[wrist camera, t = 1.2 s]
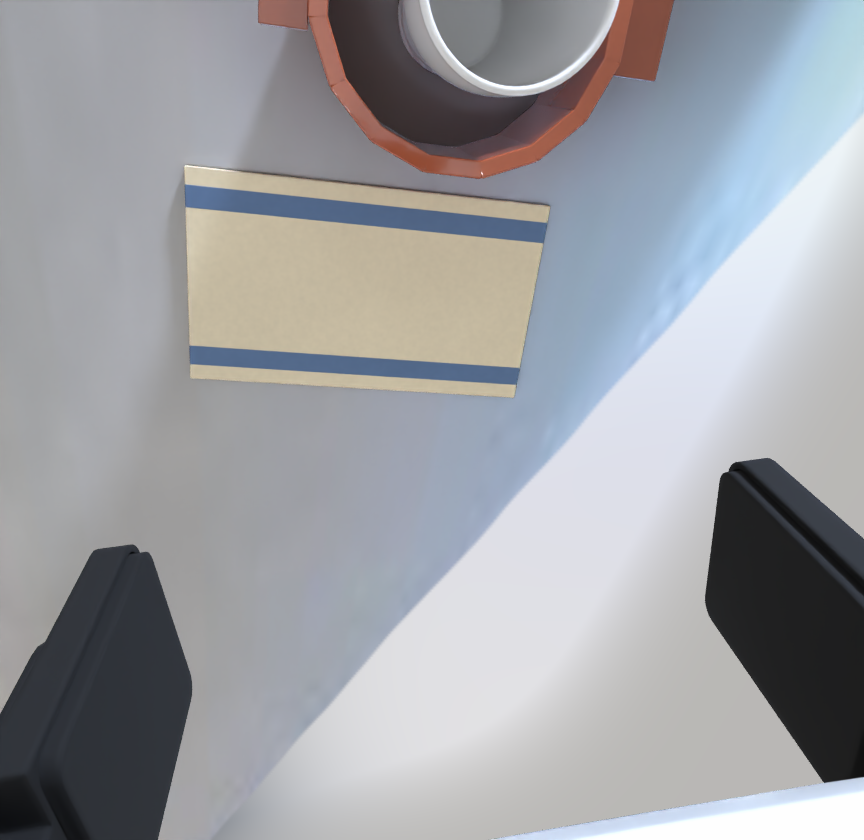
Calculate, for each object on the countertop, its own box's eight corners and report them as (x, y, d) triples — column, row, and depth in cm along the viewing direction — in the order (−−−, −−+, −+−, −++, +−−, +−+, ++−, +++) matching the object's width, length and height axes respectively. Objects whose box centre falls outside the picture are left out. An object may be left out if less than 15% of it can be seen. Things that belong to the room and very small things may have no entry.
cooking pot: (268, 140, 36) (255, 153, 30) (274, -190, 30) (260, -258, 24) (584, 178, 39) (632, 196, 33) (645, -115, 33) (717, -160, 27)
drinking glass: (368, -49, 33) (394, -134, 20) (505, -77, 33) (621, -179, 20) (397, 103, 36) (437, 118, 23) (522, 77, 36) (633, 76, 23)
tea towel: (191, 375, 41) (190, 378, 41) (185, 165, 36) (184, 165, 36) (512, 395, 45) (514, 398, 44) (548, 205, 40) (550, 206, 39)
